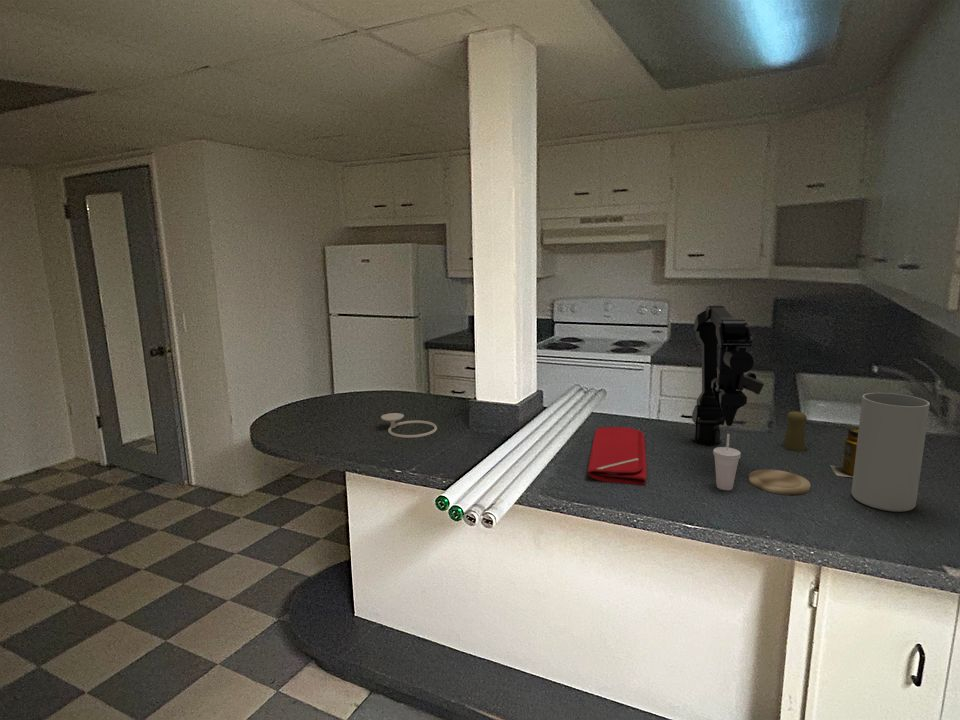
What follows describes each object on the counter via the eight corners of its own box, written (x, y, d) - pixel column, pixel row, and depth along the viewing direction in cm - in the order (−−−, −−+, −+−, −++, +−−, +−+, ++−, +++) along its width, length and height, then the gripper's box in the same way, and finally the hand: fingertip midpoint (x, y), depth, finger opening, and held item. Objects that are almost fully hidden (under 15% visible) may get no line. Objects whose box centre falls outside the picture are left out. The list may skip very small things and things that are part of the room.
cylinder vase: (839, 495, 138) (850, 396, 133) (872, 486, 142) (884, 390, 138) (893, 517, 126) (907, 409, 121) (927, 506, 131) (942, 402, 126)
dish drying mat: (644, 436, 185) (644, 426, 184) (647, 487, 146) (648, 473, 145) (595, 433, 189) (595, 423, 188) (585, 482, 150) (586, 468, 149)
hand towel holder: (421, 428, 183) (368, 422, 191) (421, 441, 184) (369, 434, 192) (445, 414, 198) (395, 408, 207) (445, 426, 199) (396, 420, 207)
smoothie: (740, 485, 145) (743, 433, 142) (736, 494, 139) (740, 440, 137) (713, 480, 148) (716, 429, 145) (708, 489, 143) (711, 436, 140)
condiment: (874, 479, 147) (879, 435, 144) (837, 476, 149) (841, 433, 147) (865, 469, 153) (869, 427, 151) (829, 466, 156) (833, 424, 154)
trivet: (737, 481, 147) (738, 477, 147) (766, 468, 155) (766, 465, 155) (792, 499, 136) (792, 495, 136) (820, 485, 144) (820, 481, 143)
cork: (782, 449, 170) (785, 413, 168) (782, 442, 175) (785, 408, 173) (805, 451, 167) (809, 416, 165) (805, 445, 172) (808, 410, 170)
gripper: (770, 373, 142) (766, 433, 145) (754, 359, 160) (750, 412, 163) (723, 372, 145) (719, 430, 148) (712, 358, 162) (709, 410, 165)
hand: (726, 420), depth 156 cm, fingers open, 9 cm apart
